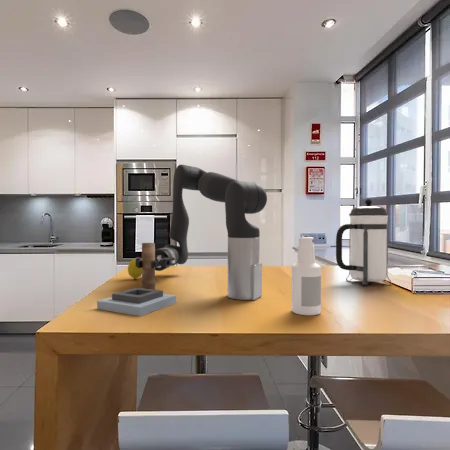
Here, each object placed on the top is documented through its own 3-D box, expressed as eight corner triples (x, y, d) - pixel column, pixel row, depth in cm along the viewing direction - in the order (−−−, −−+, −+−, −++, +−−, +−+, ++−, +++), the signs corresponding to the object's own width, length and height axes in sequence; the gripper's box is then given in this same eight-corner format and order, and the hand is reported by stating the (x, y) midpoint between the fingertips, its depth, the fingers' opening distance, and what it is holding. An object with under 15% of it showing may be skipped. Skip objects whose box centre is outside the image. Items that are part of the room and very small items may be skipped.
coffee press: (349, 277, 129) (349, 200, 129) (394, 282, 120) (395, 199, 119) (335, 284, 115) (335, 198, 115) (385, 290, 105) (386, 196, 105)
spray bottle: (315, 317, 75) (316, 238, 75) (287, 313, 79) (287, 237, 79) (324, 310, 81) (324, 237, 81) (297, 306, 85) (297, 236, 84)
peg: (157, 290, 105) (157, 242, 105) (149, 292, 102) (149, 243, 101) (147, 289, 107) (147, 242, 107) (139, 291, 103) (139, 243, 103)
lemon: (138, 280, 122) (139, 259, 122) (125, 280, 123) (125, 258, 123) (145, 278, 127) (145, 257, 127) (132, 277, 128) (132, 257, 128)
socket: (176, 302, 89) (176, 289, 89) (140, 316, 76) (140, 300, 76) (136, 297, 95) (136, 285, 95) (97, 308, 82) (97, 294, 82)
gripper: (143, 248, 119) (123, 252, 102) (182, 248, 118) (167, 252, 101) (143, 268, 119) (123, 276, 102) (182, 269, 118) (167, 277, 101)
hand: (145, 264), depth 101 cm, fingers closed on peg, 4 cm apart
